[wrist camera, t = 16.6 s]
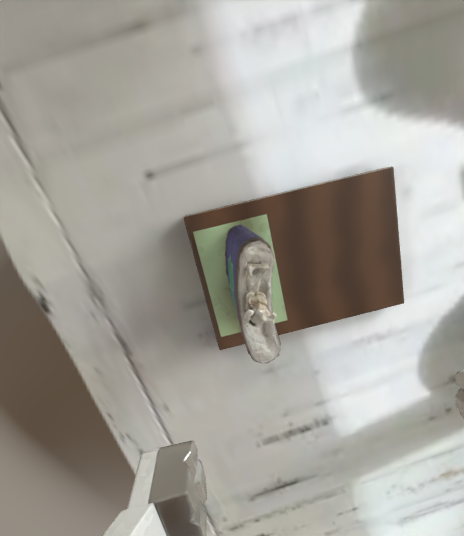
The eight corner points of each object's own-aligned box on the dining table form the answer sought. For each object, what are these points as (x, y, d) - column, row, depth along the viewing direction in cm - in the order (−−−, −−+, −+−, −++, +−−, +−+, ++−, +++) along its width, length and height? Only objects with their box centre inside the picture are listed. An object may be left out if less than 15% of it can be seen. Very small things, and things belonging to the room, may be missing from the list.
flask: (260, 313, 29) (289, 378, 19) (232, 317, 29) (245, 385, 19) (251, 221, 27) (279, 239, 17) (220, 225, 27) (228, 245, 17)
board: (384, 167, 29) (394, 166, 27) (395, 298, 32) (405, 303, 31) (184, 216, 28) (183, 217, 26) (219, 343, 32) (219, 350, 30)
